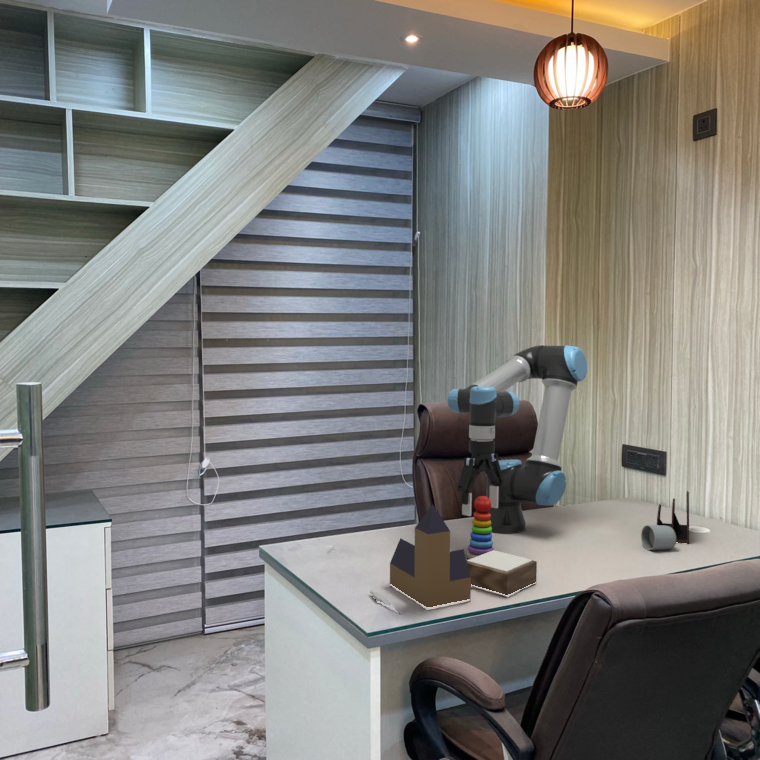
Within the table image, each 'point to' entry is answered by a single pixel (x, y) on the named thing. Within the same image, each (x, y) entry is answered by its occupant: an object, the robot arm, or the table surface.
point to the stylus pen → (380, 597)
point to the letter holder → (677, 523)
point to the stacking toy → (481, 529)
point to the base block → (502, 572)
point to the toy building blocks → (431, 565)
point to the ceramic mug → (658, 537)
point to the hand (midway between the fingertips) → (480, 511)
